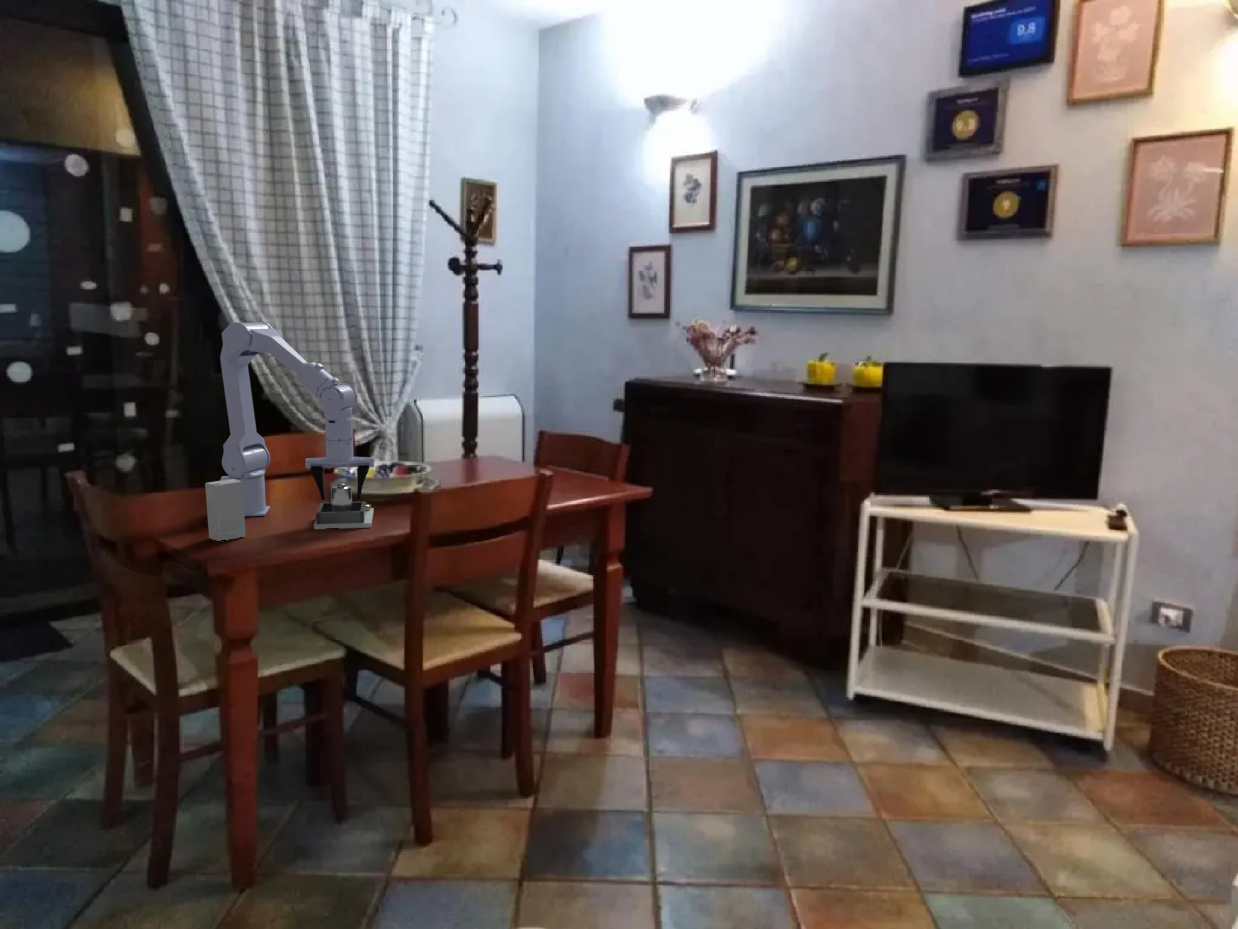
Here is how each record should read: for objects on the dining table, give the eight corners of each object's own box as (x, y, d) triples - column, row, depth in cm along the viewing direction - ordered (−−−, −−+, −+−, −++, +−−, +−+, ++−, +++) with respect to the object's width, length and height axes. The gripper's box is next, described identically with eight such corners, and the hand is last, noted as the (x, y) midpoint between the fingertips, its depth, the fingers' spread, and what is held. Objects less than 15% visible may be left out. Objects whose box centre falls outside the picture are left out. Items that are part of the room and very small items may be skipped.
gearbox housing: (314, 529, 189) (313, 513, 188) (320, 513, 202) (319, 499, 201) (371, 527, 191) (370, 512, 191) (373, 512, 205) (373, 497, 204)
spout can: (331, 520, 192) (330, 485, 191) (333, 513, 198) (332, 480, 197) (351, 519, 193) (350, 485, 192) (353, 513, 199) (352, 480, 198)
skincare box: (236, 533, 184) (233, 477, 181) (246, 537, 181) (243, 481, 179) (207, 539, 179) (203, 481, 177) (217, 543, 176) (214, 485, 174)
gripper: (302, 442, 186) (305, 503, 189) (372, 441, 189) (374, 502, 192) (306, 437, 193) (308, 496, 195) (373, 436, 196) (375, 494, 199)
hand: (341, 498), depth 194 cm, fingers open, 7 cm apart
